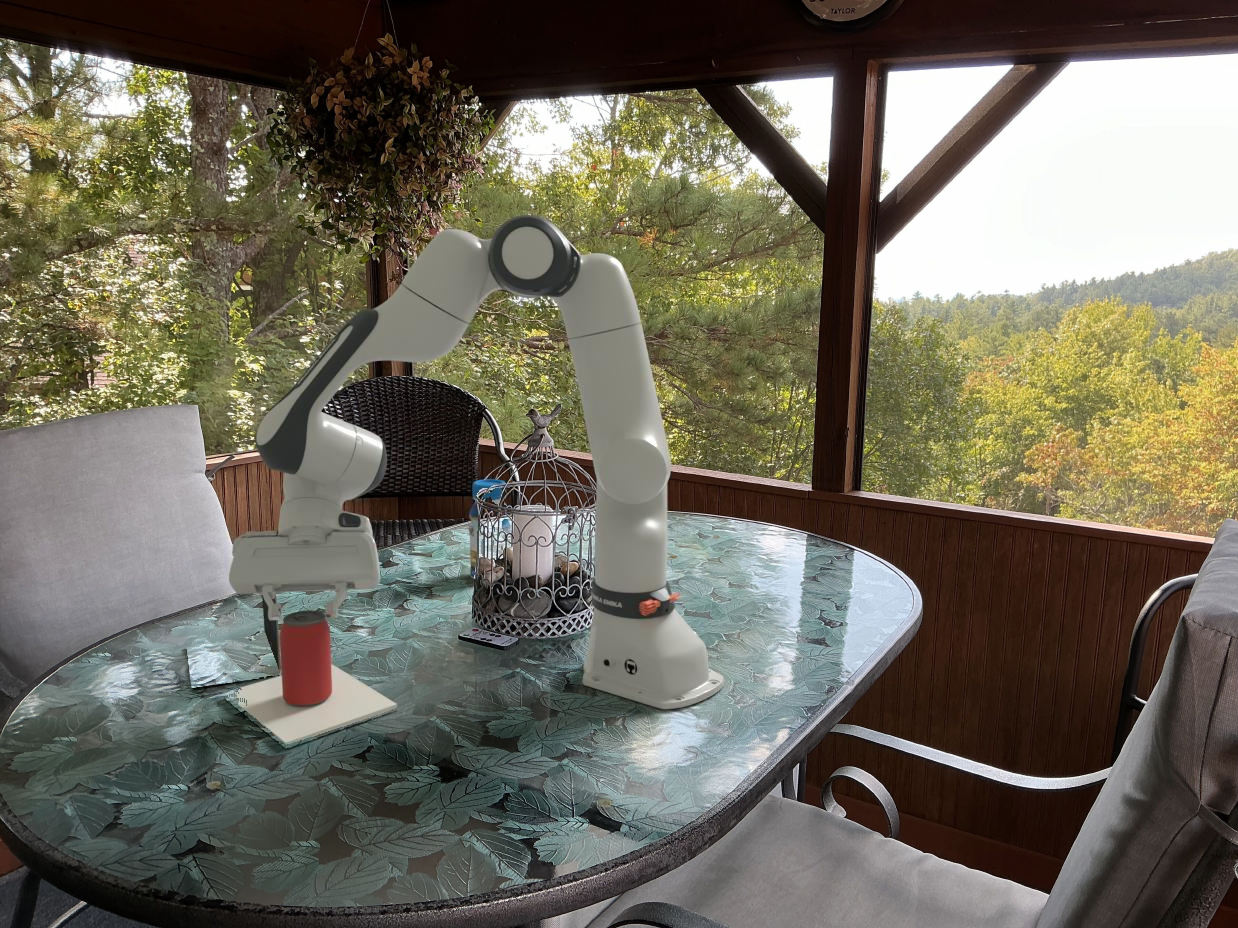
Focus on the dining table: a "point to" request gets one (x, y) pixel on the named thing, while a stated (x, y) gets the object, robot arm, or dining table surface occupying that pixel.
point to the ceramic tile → (312, 707)
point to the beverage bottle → (473, 516)
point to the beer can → (305, 658)
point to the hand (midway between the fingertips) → (303, 617)
